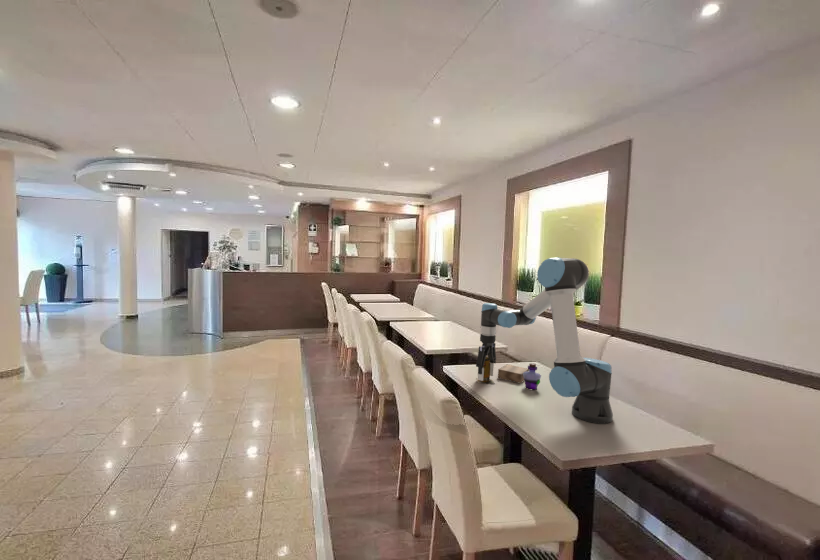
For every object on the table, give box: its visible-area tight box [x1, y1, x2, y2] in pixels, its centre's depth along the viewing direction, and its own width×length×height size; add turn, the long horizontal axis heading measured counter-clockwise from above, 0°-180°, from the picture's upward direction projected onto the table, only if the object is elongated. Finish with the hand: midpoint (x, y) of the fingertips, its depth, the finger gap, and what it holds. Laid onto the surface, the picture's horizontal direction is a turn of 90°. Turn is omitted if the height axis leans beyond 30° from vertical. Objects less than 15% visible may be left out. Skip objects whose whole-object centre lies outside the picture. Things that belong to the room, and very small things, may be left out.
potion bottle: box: [523, 362, 542, 391], centre depth 190 cm, size 9×9×12 cm
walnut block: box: [497, 364, 529, 384], centre depth 205 cm, size 12×12×5 cm
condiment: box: [476, 356, 495, 385], centre depth 197 cm, size 7×8×12 cm
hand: (485, 377), depth 198 cm, fingers open, 10 cm apart
